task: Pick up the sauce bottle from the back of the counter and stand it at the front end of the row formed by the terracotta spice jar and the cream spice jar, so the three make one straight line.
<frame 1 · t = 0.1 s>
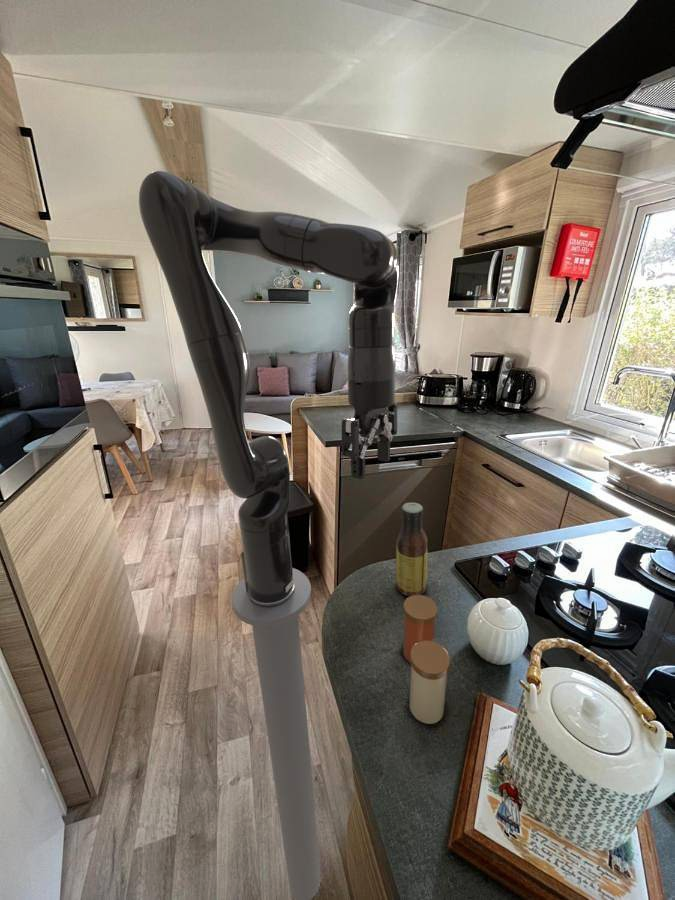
hand: (371, 468, 66), 30 cm above the worktop, tool pointing down, fingers open, 8 cm apart
sauce bottle: (410, 589, 81), on the worktop
terracotta jar: (417, 653, 66), on the worktop
cream jar: (426, 706, 57), on the worktop
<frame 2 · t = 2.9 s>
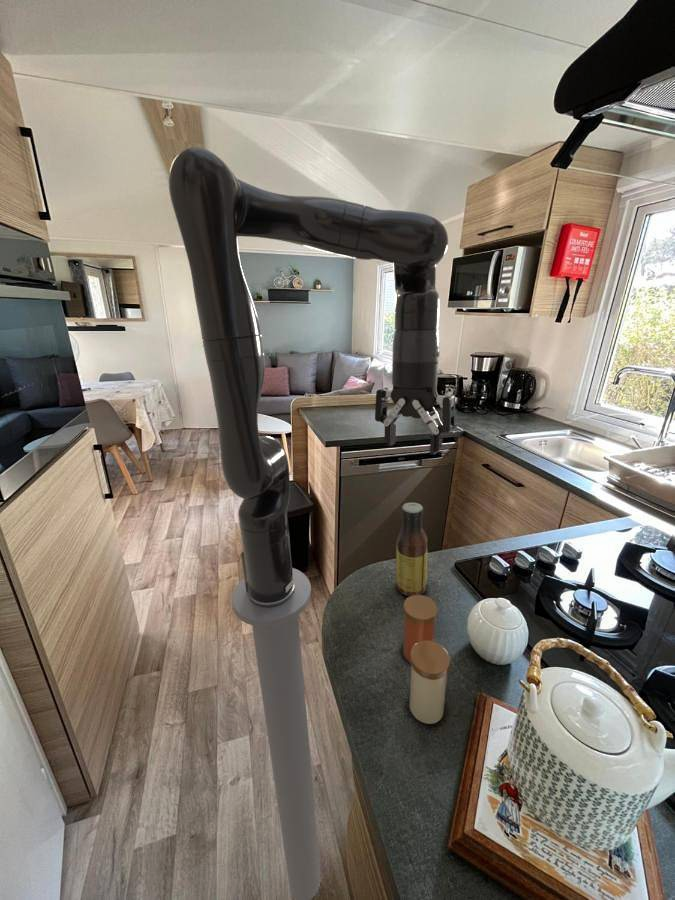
hand: (412, 448, 69), 32 cm above the worktop, tool pointing down, fingers open, 8 cm apart
nothing on the worktop moved.
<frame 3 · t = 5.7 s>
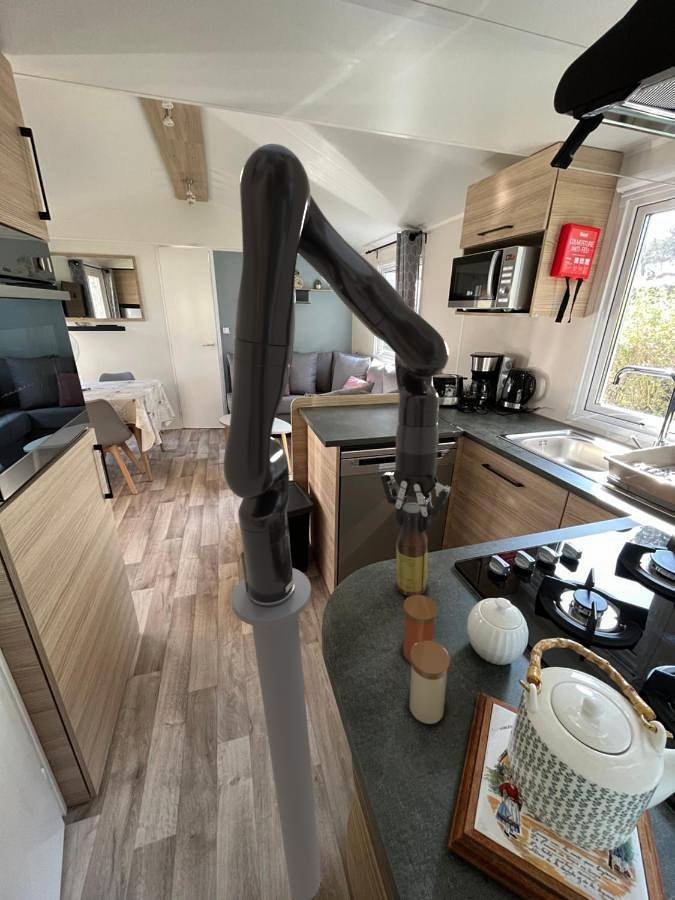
hand: (412, 526, 75), 15 cm above the worktop, tool pointing down, fingers closed on sauce bottle, 4 cm apart
sauce bottle: (410, 589, 81), on the worktop, touching gripper
everything else where it was.
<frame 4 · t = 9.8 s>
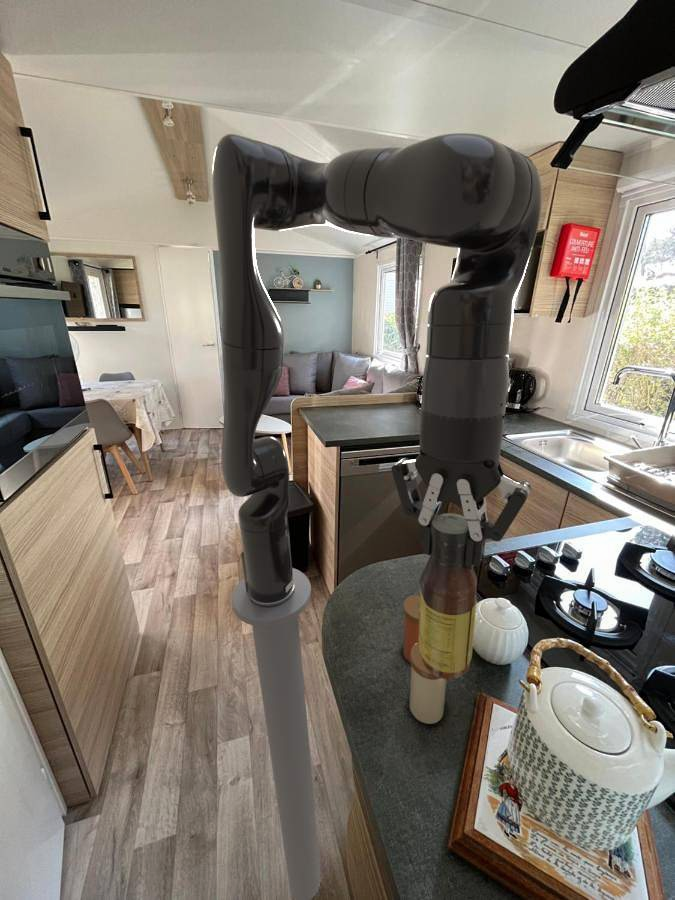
hand: (450, 557, 41), 30 cm above the worktop, tool pointing down, fingers closed on sauce bottle, 4 cm apart
sauce bottle: (442, 662, 47), point 15 cm above the worktop, touching gripper
everything else where it was.
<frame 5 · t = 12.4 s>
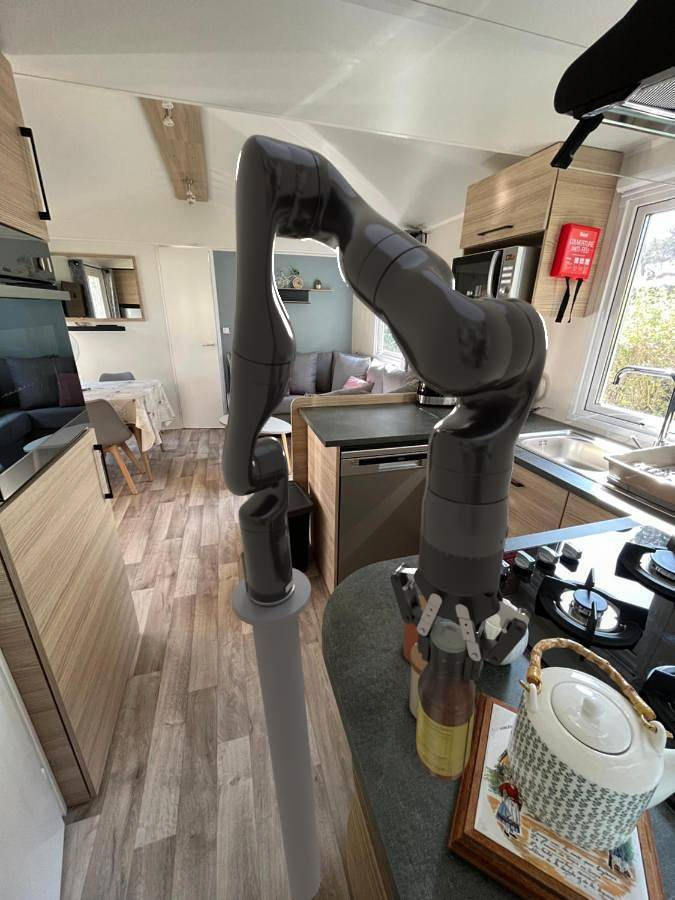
hand: (448, 665, 41), 20 cm above the worktop, tool pointing down, fingers closed on sauce bottle, 4 cm apart
sauce bottle: (440, 757, 47), point 4 cm above the worktop, touching gripper
everything else where it was.
when the fingers open (15 cm above the worktop, at t = 14.0 s): sauce bottle stays where it is, on the worktop.
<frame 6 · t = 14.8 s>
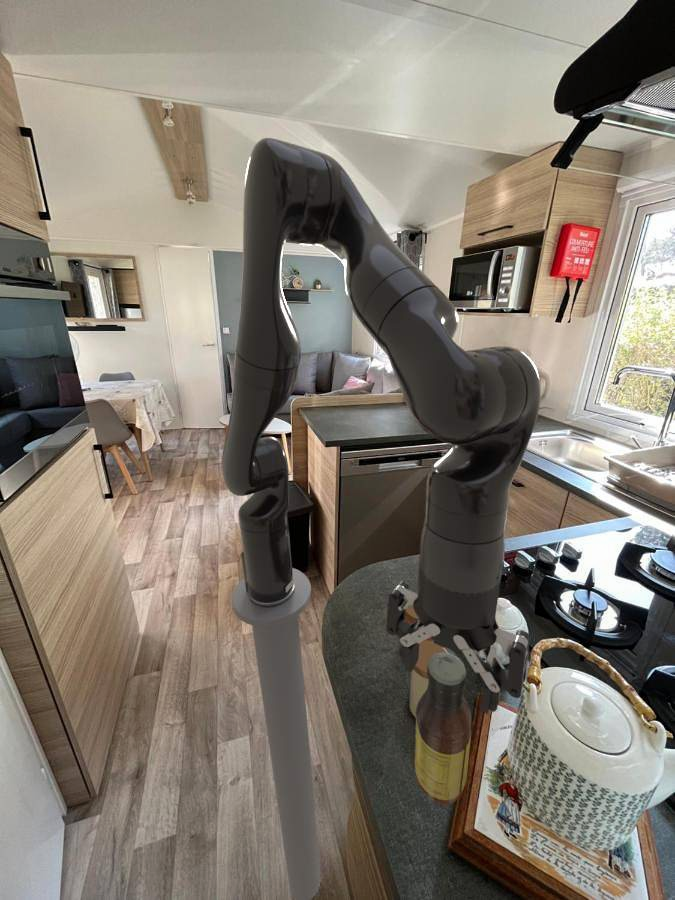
hand: (447, 684, 42), 17 cm above the worktop, tool pointing down, fingers open, 8 cm apart
sauce bottle: (438, 780, 48), on the worktop
everything else where it was.
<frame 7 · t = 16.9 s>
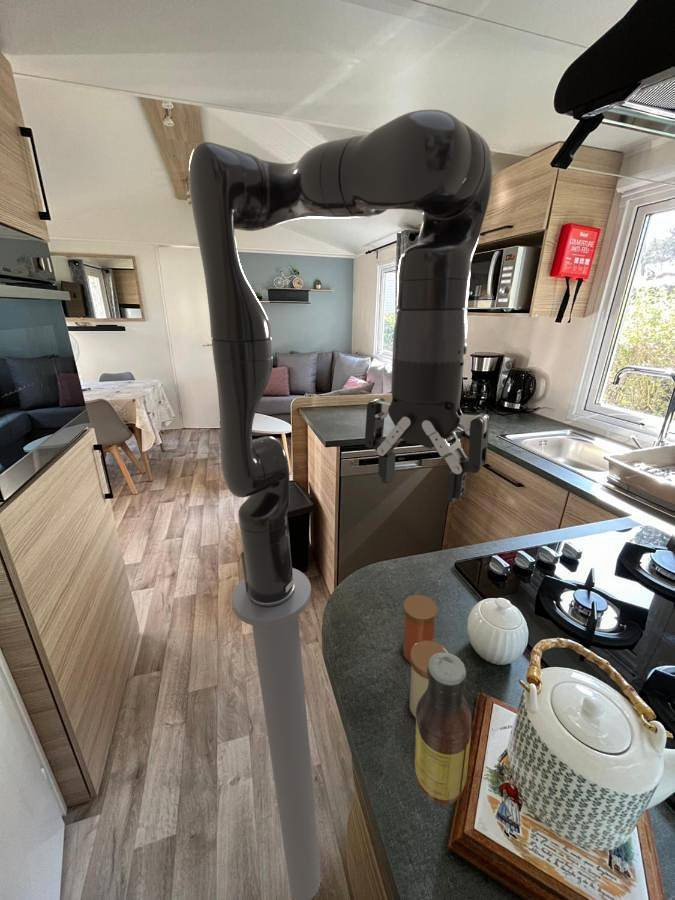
hand: (418, 489, 46), 35 cm above the worktop, tool pointing down, fingers open, 8 cm apart
nothing on the worktop moved.
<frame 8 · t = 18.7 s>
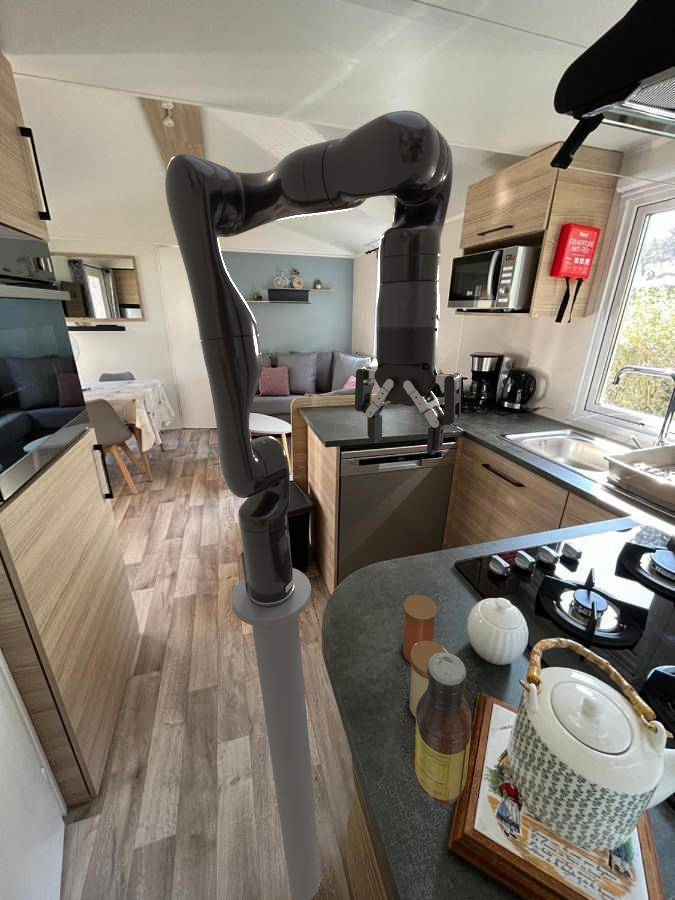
hand: (403, 446, 52), 38 cm above the worktop, tool pointing down, fingers open, 8 cm apart
nothing on the worktop moved.
at the end: sauce bottle 0.1 cm from the target spot on the worktop beside the cream jar, on the worktop; sauce bottle tilted 0°; the gripper is holding nothing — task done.
